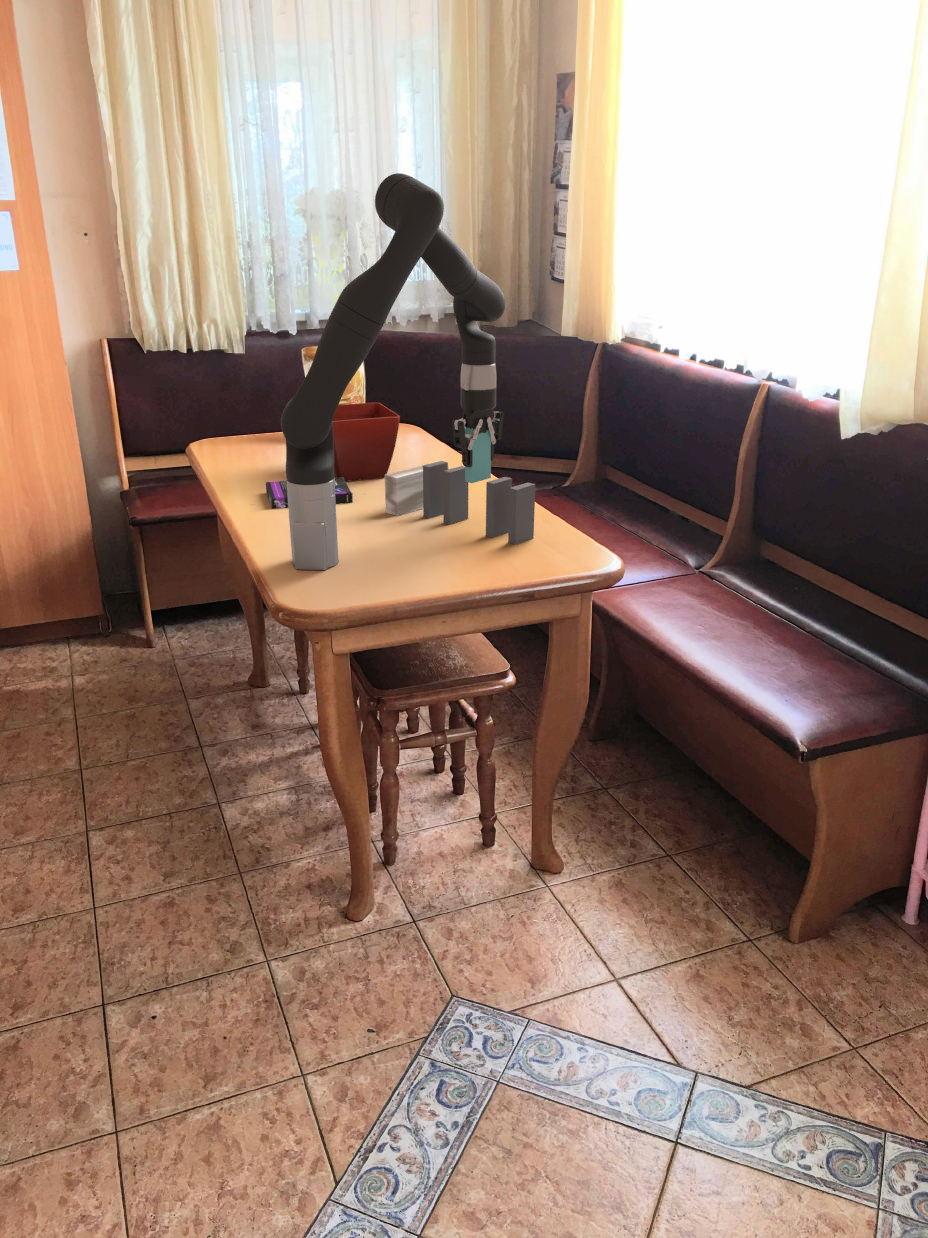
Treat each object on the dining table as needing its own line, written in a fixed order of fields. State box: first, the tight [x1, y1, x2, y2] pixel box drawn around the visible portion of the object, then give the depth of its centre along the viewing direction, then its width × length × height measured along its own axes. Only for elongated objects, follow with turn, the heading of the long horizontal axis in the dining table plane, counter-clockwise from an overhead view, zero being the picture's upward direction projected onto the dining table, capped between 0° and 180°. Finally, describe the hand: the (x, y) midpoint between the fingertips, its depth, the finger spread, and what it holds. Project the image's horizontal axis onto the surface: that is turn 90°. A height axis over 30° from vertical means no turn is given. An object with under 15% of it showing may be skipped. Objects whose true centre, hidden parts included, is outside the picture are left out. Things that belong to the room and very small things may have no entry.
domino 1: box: [422, 460, 449, 519], centre depth 221 cm, size 2×6×12 cm, turn 136°
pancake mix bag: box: [300, 345, 366, 405], centre depth 285 cm, size 7×19×28 cm, turn 111°
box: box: [265, 477, 354, 510], centre depth 236 cm, size 14×4×20 cm
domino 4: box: [485, 476, 513, 539], centre depth 209 cm, size 2×6×12 cm, turn 136°
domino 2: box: [443, 465, 469, 525], centre depth 217 cm, size 2×6×12 cm, turn 136°
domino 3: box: [464, 427, 492, 484], centre depth 209 cm, size 2×6×12 cm, turn 136°
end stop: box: [384, 463, 428, 517], centre depth 227 cm, size 4×14×9 cm, turn 136°
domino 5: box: [507, 482, 536, 546], centre depth 205 cm, size 2×6×12 cm, turn 136°
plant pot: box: [333, 402, 401, 483], centre depth 252 cm, size 19×19×17 cm
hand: (478, 463), depth 210 cm, fingers closed on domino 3, 6 cm apart
